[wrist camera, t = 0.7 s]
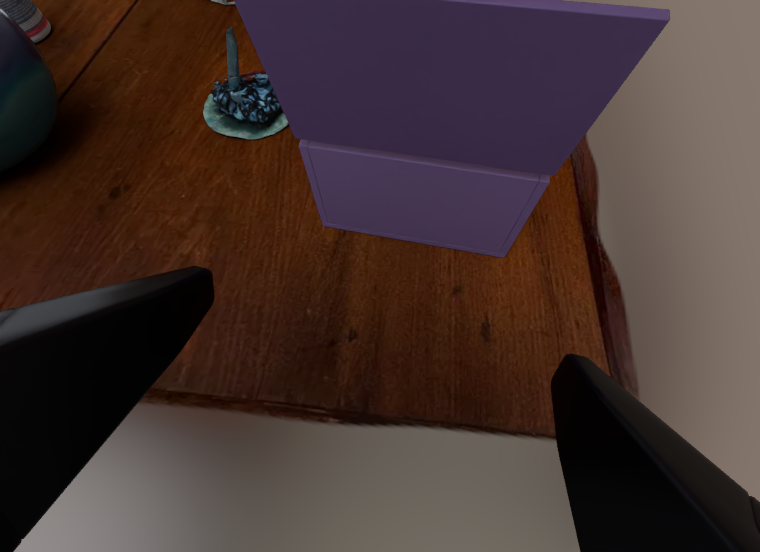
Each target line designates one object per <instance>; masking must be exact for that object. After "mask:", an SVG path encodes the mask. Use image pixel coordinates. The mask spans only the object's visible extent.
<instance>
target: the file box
mask: <svg viewBox="0 0 760 552" xmlns="http://www.w3.org/2000/svg"><path fill="white" fill-rule="evenodd" d="M299 148H300V151H301V155H302V158H303V161H304V165H305V168H306V171H307V175H308V178H309V181H310V185H311V188H312V191H313V195H314V198H315V201H316V205H317V208H318V211H319V215H320V218H321V221H322V224H323V226H325V227H331V228H337V229H342V230H348V231H354V232H359V233H365V234H371V235H376V236H382V237H388V238H393V239H399V240H405V241H410V242H416V243H422V244H427V245H433V246H439V247H444V248H450V249H456V250H461V251H467V252H473V253H478V254H484V255H490V256H495V257H501V258H505V256H506V254H507V253H508V251H509V249H510V248H511V246H512V244H513V243H514V241H515V239H516V238H517V236H518V234H519V233H520V231H521V229H522V228H523V226H524V224H525V223H526V221H527V219H528V218H529V216H530V214H531V213H532V211H533V209H534V208H535V206H536V204H537V203H538V201H539V199H540V198H541V196H542V194H543V193H544V191H545V189H546V188H547V186H548V184H549V183H550V175H545V174H538V173H531V172H524V171H517V170H510V169H503V168H497V167H490V166H483V165H476V164H469V163H462V162H455V161H448V160H441V159H435V158H428V157H421V156H414V155H407V154H400V153H393V152H386V151H380V150H373V149H366V148H359V147H352V146H345V145H338V144H331V143H324V142H318V141H311V140H304V139H301V141H300V144H299Z"/></svg>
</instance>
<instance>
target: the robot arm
mask: <svg viewBox="0 0 760 552" xmlns="http://www.w3.org/2000/svg"><path fill="white" fill-rule="evenodd" d="M213 302H214V286H213V277H212V273H211V271H210V270H209V269H206V268H202V267H197V266H191V267H187V268H183V269H178V270H174V271H170V272H166V273H161V274H157V275H153V276H149V277H144V278H140V279H136V280H132V281H127V282H123V283H119V284H115V285H110V286H106V287H102V288H98V289H93V290H89V291H85V292H81V293H76V294H72V295H68V296H64V297H59V298H55V299H51V300H47V301H42V302H38V303H34V304H30V305H25V306H21V307H19V308H18V309H16V308H12V309H8V310H4V311H0V552H13V551H14V550H15V549H16V548H17V547H18V545H19V544H20V543H21V539H24V538H25V536H26V535H27V534H28V533H29V532H30V531H31V529H32V528H33V527H34V526H35V525H36V523H37V522H38V521H39V520H40V519H41V518H42V516H43V515H44V514H45V513H46V512H47V510H48V509H49V508H50V507H51V506H52V504H53V503H54V502H55V501H56V500H57V498H58V497H59V496H60V495H61V494H62V493H63V491H64V490H65V489H66V488H67V486H68V485H69V484H70V483H71V482H72V481H73V479H74V478H75V477H76V476H77V474H78V473H79V472H80V471H81V470H82V469H83V468H84V466H85V465H86V464H87V463H88V462H89V460H90V459H91V458H92V457H93V456H94V454H95V453H96V452H97V451H98V450H99V448H100V447H101V446H102V445H103V444H104V442H105V441H106V440H107V439H108V438H109V437H110V435H111V434H112V433H113V432H114V430H115V429H116V428H117V427H118V426H119V425H120V423H121V422H122V421H123V420H124V419H125V417H126V416H127V415H128V414H129V413H130V411H131V410H132V409H133V408H134V407H135V406H136V404H137V403H138V402H139V401H140V400H141V398H142V397H143V396H144V395H145V394H146V392H147V391H148V390H149V389H150V388H151V386H152V385H153V384H154V383H155V382H156V380H157V379H158V378H159V377H160V376H161V375H162V373H163V372H164V371H165V370H166V369H167V367H168V366H169V365H170V364H171V363H172V361H173V360H174V359H175V358H176V356H177V355H178V354H179V353H180V351H181V350H182V349H183V347H184V346H185V345H186V343H187V342H188V340H189V339H190V337H191V336H192V334H193V333H194V331H195V330H196V328H197V327H198V325H199V324H200V322H201V321H202V319H203V318H204V316H205V315H206V313H207V312H208V311H209V309H210V308H211V306H212V304H213ZM551 394H552V403H553V413H554V422H555V431H556V440H557V447H558V452H559V457H560V462H561V466H562V471H563V475H564V479H565V484H566V489H567V493H568V498H569V502H570V507H571V511H572V516H573V520H574V525H575V529H576V533H577V538H578V543H579V547H580V551H581V552H760V502H759V501H758V500H756V499H755V498H754V497H752V496H749V495H748V492H746V490H744V489H743V488H742V487H741V486H740V485H738V484H737V483H736V482H735V481H734V480H732V479H731V478H730V477H729V476H728V475H726V474H725V473H724V472H723V471H722V470H721V469H719V468H718V467H717V466H716V465H715V464H713V463H712V462H711V461H710V460H709V459H707V458H706V457H705V456H704V455H703V454H701V453H700V452H699V451H698V450H697V449H695V448H694V447H693V446H692V445H691V444H689V443H688V442H687V441H686V440H685V439H683V438H682V437H681V436H680V435H679V434H677V433H676V432H675V431H674V430H673V429H671V428H670V427H669V426H668V425H667V424H666V423H664V422H663V421H662V420H661V419H660V418H658V417H657V416H656V415H655V414H654V413H652V412H651V411H650V410H649V409H648V408H646V407H645V406H644V405H643V404H642V403H641V402H639V401H638V400H637V399H636V398H635V397H633V396H632V395H631V394H630V393H629V392H628V391H626V390H625V389H624V388H623V387H622V386H620V385H619V384H618V383H617V382H616V381H614V380H613V379H612V378H611V377H610V376H608V375H607V374H606V373H605V372H604V371H603V370H601V369H600V368H599V367H598V366H597V365H595V364H594V363H593V362H592V361H591V360H589V359H588V358H586V357H584V356H579V355H575V354H567V355H566V356H565V357H564V358H563V360H562V361H561V363H560V365H559V367H558V368H557V370H556V372H555V374H554V375H553V378H552V380H551Z"/></svg>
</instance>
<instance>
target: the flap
mask: <svg viewBox="0 0 760 552" xmlns="http://www.w3.org/2000/svg"><path fill="white" fill-rule="evenodd" d="M234 2H235V4H236V6H237V9H238V11H239V13H240V15H241V18H242V20H243V22H244V24H245V27H246V29H247V31H248V33H249V36H250V38H251V40H252V42H253V45H254V47H255V49H256V51H257V54H258V56H259V58H260V60H261V63H262V65H263V67H264V69H265V72H266V74H267V76H268V78H269V81H270V83H271V85H272V87H273V89H274V92H275V94H276V96H277V98H278V101H279V103H280V105H281V107H282V110H283V112H284V114H285V116H286V119H287V121H288V123H289V125H290V128H291V130H292V132H293V134H294V137H295V138H297V139H304V140H311V141H318V142H324V143H331V144H338V145H345V146H352V147H359V148H366V149H373V150H380V151H386V152H393V153H400V154H407V155H414V156H421V157H428V158H435V159H441V160H448V161H455V162H462V163H469V164H476V165H483V166H490V167H497V168H503V169H510V170H517V171H524V172H531V173H538V174H545V175H552V176H555V174H556V173H557V172H558V170H559V169H560V168H561V166H562V165H563V164H564V162H565V161H566V160H567V158H568V157H569V155H570V154H571V153H572V151H573V150H574V149H575V147H576V146H577V145H578V143H579V142H580V141H581V139H582V138H583V137H584V135H585V134H586V133H587V131H588V130H589V128H590V127H591V126H592V124H593V123H594V122H595V120H596V119H597V118H598V116H599V115H600V113H601V112H602V111H603V110H604V108H605V107H606V105H607V104H608V103H609V101H610V100H611V99H612V97H613V96H614V95H615V93H616V92H617V91H618V89H619V88H620V87H621V85H622V84H623V82H624V81H625V80H626V78H627V77H628V76H629V74H630V73H631V72H632V70H633V69H634V68H635V66H636V65H637V64H638V62H639V61H640V59H641V58H642V57H643V55H644V54H645V52H646V51H647V50H648V49H649V47H650V46H651V45H652V43H653V42H654V41H655V39H656V38H657V37H658V35H659V34H660V33H661V31H662V30H663V28H664V27H665V26H666V24H667V23H668V22H669V20H670V10H668V9H656V8H645V7H633V6H621V5H610V4H598V3H587V2H574V1H563V0H234Z"/></svg>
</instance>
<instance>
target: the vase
mask: <svg viewBox="0 0 760 552" xmlns="http://www.w3.org/2000/svg"><path fill="white" fill-rule="evenodd" d="M57 111H58V97H57V90H56V85H55V82H54V80H53V77H52V74H51V71H50V69H49V66H48V64H47V63H46V61H45V59H44V57H43V55H42V54H41V52H40V50H39V49H38V48H37V46H36V45H35V44H34V42H33V41H32V40H31V38H30V37H29V36H28V35H27V33H26V32H25V31H24V30H23V29H22V28H21V27H20V26H19V25H18V24H17V23H16V21H15V20H14V19H13V18H12V17H10V16H9V15H8V14H7V13H6V12H4V11H3V10H2V9H1V8H0V172H3V171H5V170H7V169H9V168H11V167H13V166H15V165H17V164H18V163H20V162H22V161H23V160H25V159H26V158H27V157H29V156H30V155H31V154H32V153H34V152H35V151H36V150H37V149H38V148H39V147H40V146H41V145H42V143H43V142H44V141H45V140H46V138H47V137H48V135H49V134H50V132H51V130H52V128H53V125H54V123H55V121H56V117H57Z"/></svg>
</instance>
